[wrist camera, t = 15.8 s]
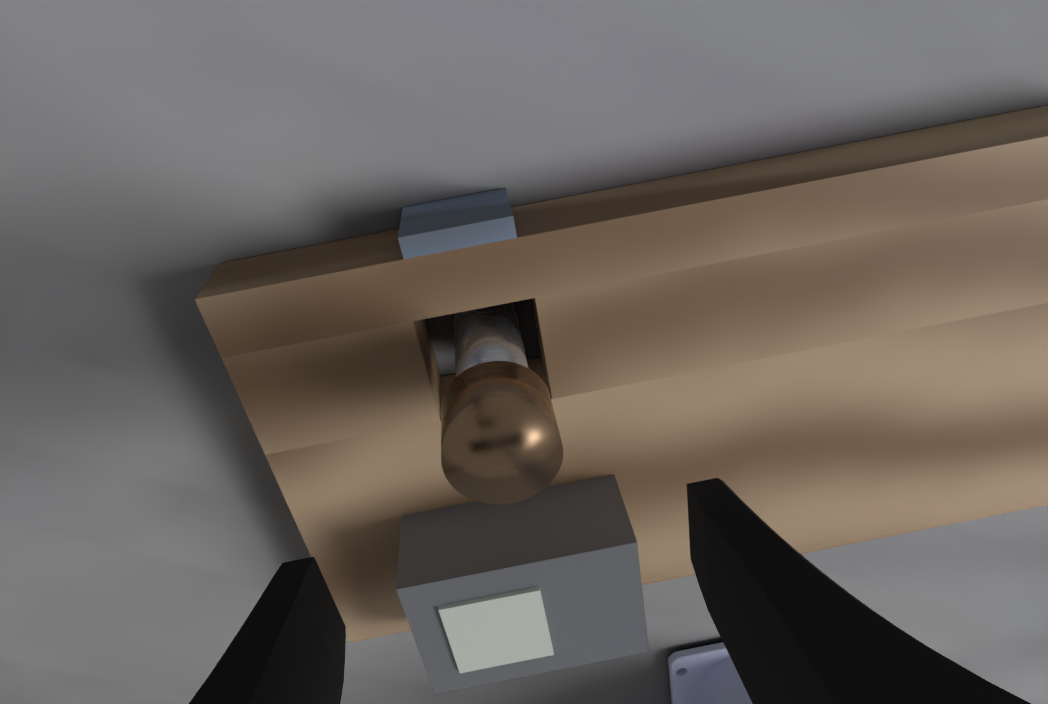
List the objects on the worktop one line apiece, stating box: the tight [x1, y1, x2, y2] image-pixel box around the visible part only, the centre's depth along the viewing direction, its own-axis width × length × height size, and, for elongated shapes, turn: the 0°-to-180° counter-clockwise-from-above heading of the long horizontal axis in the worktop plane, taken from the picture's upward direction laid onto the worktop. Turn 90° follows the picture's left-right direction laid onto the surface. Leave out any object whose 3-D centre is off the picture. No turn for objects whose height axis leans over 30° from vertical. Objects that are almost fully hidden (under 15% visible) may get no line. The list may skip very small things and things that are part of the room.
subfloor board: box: [195, 105, 1048, 642], centre depth 22 cm, size 15×26×2 cm, turn 99°
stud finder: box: [396, 474, 649, 694], centre depth 22 cm, size 5×7×3 cm
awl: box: [441, 302, 563, 505], centre depth 19 cm, size 3×3×7 cm
